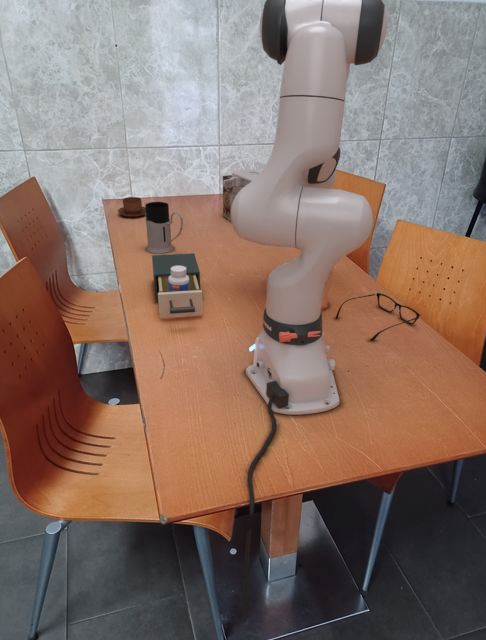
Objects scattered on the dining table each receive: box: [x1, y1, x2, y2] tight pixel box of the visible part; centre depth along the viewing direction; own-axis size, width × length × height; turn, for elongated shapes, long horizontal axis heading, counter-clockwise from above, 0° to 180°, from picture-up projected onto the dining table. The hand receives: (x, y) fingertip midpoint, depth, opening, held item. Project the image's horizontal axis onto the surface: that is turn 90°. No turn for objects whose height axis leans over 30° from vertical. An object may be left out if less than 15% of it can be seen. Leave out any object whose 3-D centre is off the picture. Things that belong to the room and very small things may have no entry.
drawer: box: [157, 274, 204, 319], centre depth 129 cm, size 19×11×7 cm, turn 11°
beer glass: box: [321, 267, 335, 310], centre depth 133 cm, size 7×7×15 cm
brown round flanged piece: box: [117, 196, 146, 218], centre depth 202 cm, size 12×12×6 cm
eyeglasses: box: [335, 292, 421, 341], centre depth 128 cm, size 16×16×4 cm
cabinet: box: [151, 252, 201, 303], centre depth 141 cm, size 14×12×8 cm
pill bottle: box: [168, 266, 190, 292], centre depth 129 cm, size 6×5×10 cm
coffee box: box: [222, 174, 241, 223], centre depth 198 cm, size 9×6×16 cm
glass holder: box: [144, 201, 184, 254], centre depth 166 cm, size 9×14×15 cm, turn 62°
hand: (233, 188), depth 124 cm, fingers open, 8 cm apart
